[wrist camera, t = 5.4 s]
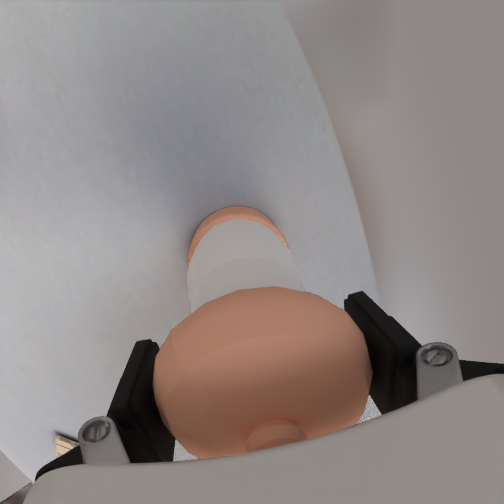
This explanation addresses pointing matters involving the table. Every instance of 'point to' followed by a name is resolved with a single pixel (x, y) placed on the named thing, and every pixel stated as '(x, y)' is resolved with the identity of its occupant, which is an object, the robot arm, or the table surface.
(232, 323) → the pepper shaker
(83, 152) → the table surface
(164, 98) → the table surface
